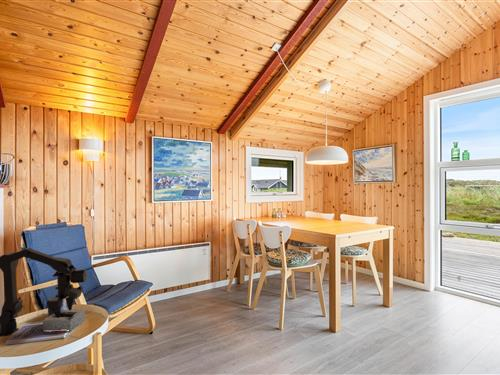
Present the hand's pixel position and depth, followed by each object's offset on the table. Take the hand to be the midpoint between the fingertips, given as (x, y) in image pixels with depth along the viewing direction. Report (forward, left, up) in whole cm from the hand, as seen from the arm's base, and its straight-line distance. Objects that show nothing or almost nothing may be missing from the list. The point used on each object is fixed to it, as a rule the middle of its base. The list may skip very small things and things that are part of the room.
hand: (64, 313), depth 149 cm
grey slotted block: (0, 0, -6) cm, 6 cm away
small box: (-12, +14, -7) cm, 20 cm away
